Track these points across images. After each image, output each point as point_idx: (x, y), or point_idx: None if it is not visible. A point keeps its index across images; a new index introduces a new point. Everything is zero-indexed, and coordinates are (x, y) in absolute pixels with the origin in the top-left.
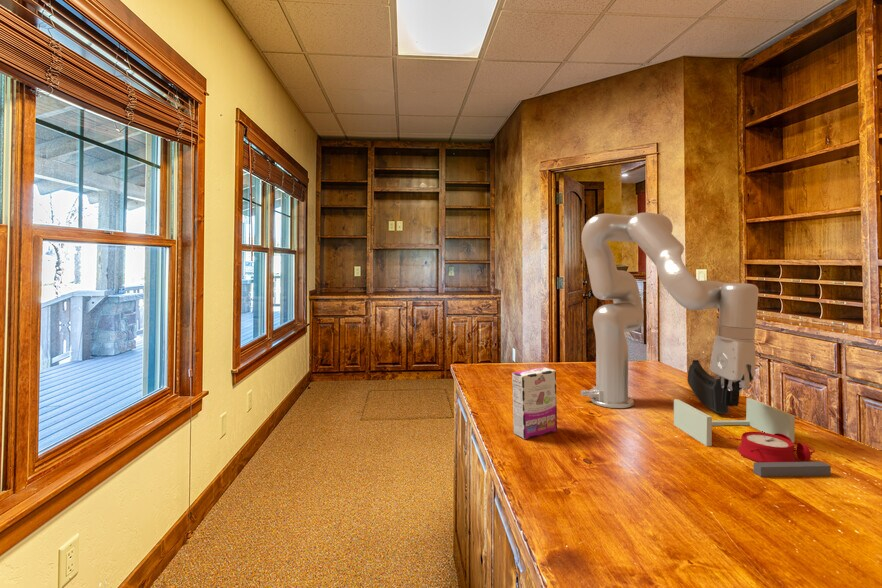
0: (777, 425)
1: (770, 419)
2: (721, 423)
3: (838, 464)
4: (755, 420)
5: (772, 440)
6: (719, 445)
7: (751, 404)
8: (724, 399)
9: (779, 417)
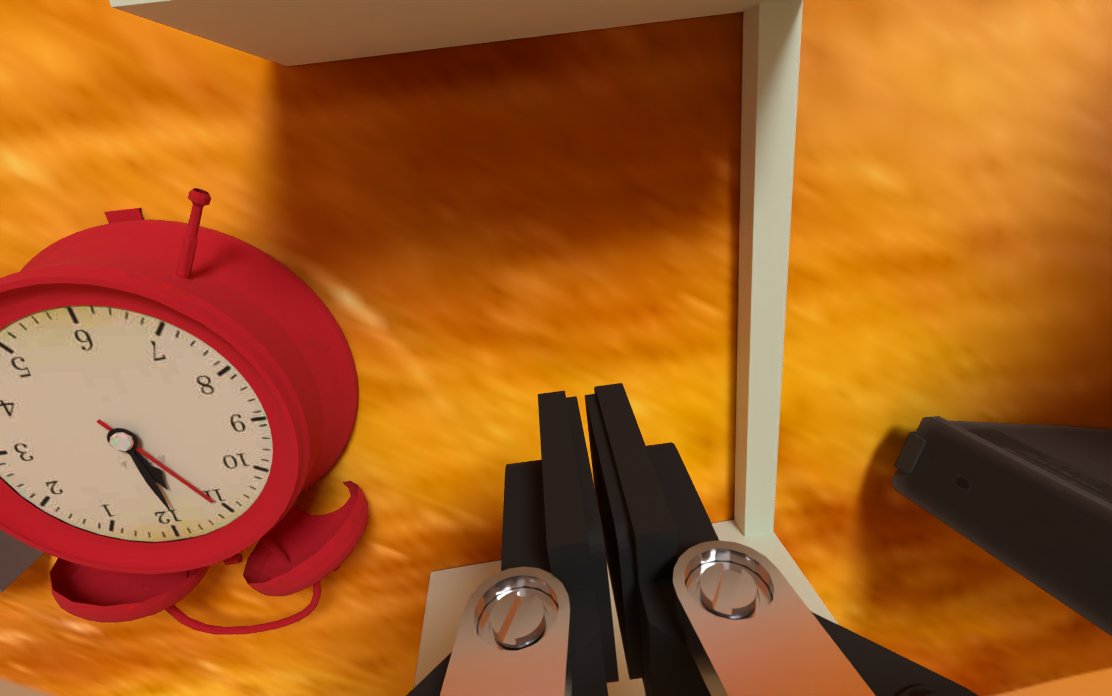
0: None
1: None
2: (745, 366)
3: (197, 650)
4: None
5: (164, 478)
6: (325, 147)
7: None
8: (594, 431)
9: None
